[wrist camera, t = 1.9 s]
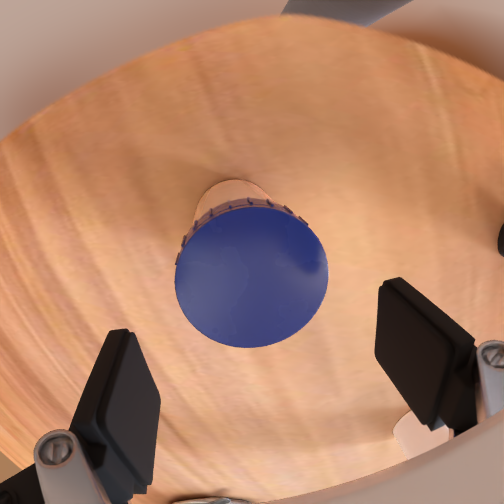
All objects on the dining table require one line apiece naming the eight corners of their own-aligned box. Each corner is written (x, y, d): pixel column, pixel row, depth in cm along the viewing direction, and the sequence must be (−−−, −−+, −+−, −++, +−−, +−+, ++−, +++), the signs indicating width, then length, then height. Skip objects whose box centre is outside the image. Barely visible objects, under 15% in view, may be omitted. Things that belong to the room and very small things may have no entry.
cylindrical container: (434, 396, 35) (523, 525, 12) (434, 419, 38) (508, 535, 14) (390, 422, 35) (467, 565, 12) (395, 443, 38) (460, 567, 15)
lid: (206, 174, 13) (204, 180, 12) (338, 226, 15) (355, 239, 13) (161, 304, 15) (155, 326, 13) (282, 339, 17) (290, 362, 15)
